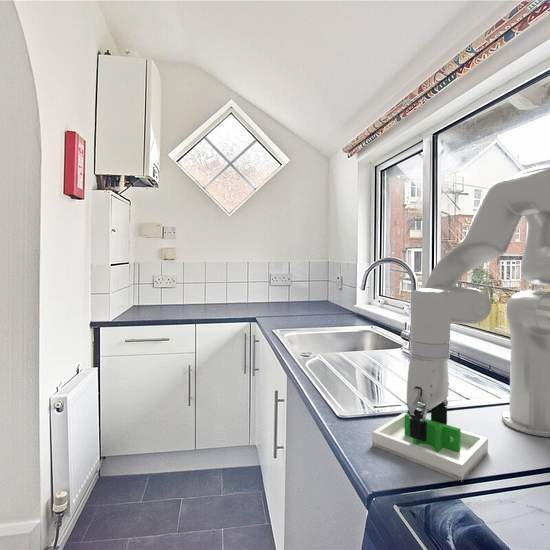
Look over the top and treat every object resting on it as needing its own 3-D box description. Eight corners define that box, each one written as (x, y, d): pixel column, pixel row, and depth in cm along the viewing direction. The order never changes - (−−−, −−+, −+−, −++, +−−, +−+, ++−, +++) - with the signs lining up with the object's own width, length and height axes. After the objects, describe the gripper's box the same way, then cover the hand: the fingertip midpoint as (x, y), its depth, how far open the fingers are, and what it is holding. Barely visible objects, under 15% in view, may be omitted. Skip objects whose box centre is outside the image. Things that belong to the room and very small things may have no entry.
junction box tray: (404, 424, 89) (404, 412, 89) (487, 452, 76) (487, 438, 76) (372, 445, 79) (372, 431, 79) (461, 481, 66) (462, 465, 66)
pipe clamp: (399, 439, 80) (399, 418, 80) (406, 433, 83) (406, 413, 83) (454, 457, 73) (454, 434, 73) (460, 450, 75) (460, 428, 75)
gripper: (429, 339, 85) (429, 413, 86) (391, 353, 73) (391, 439, 74) (464, 345, 80) (463, 423, 81) (429, 361, 68) (428, 453, 69)
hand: (428, 431), depth 78 cm, fingers open, 9 cm apart
